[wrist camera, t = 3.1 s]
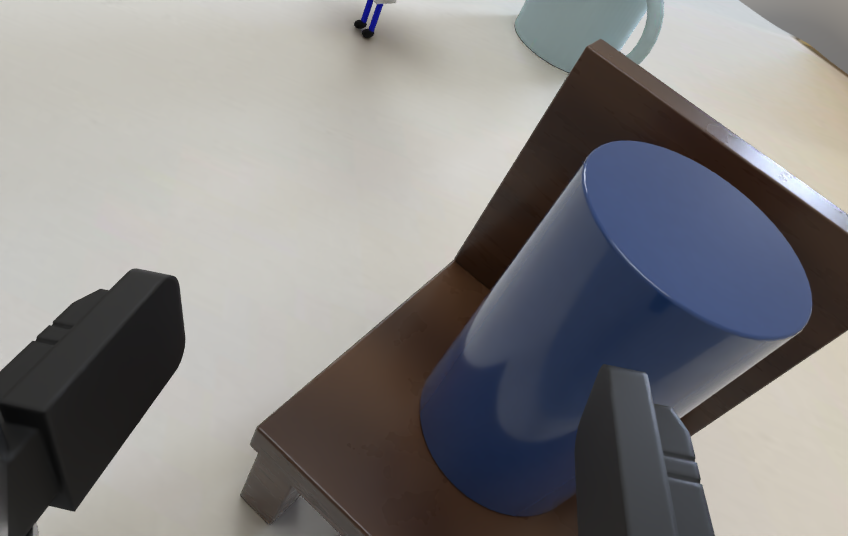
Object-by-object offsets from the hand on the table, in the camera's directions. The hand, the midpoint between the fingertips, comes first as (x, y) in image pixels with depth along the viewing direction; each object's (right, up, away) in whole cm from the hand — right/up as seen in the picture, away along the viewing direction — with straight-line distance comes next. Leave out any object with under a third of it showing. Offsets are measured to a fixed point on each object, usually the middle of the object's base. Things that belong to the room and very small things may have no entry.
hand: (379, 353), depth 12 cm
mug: (+14, +20, +44) cm, 50 cm away
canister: (+3, -4, +9) cm, 11 cm away
